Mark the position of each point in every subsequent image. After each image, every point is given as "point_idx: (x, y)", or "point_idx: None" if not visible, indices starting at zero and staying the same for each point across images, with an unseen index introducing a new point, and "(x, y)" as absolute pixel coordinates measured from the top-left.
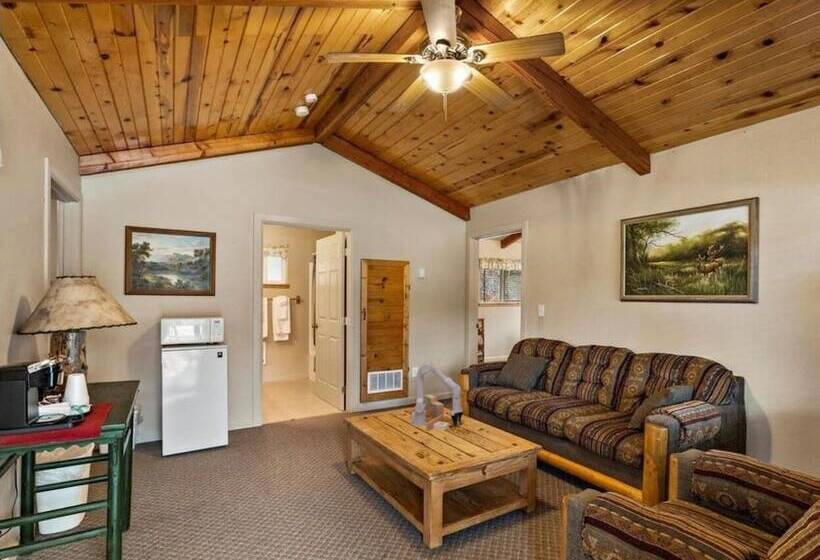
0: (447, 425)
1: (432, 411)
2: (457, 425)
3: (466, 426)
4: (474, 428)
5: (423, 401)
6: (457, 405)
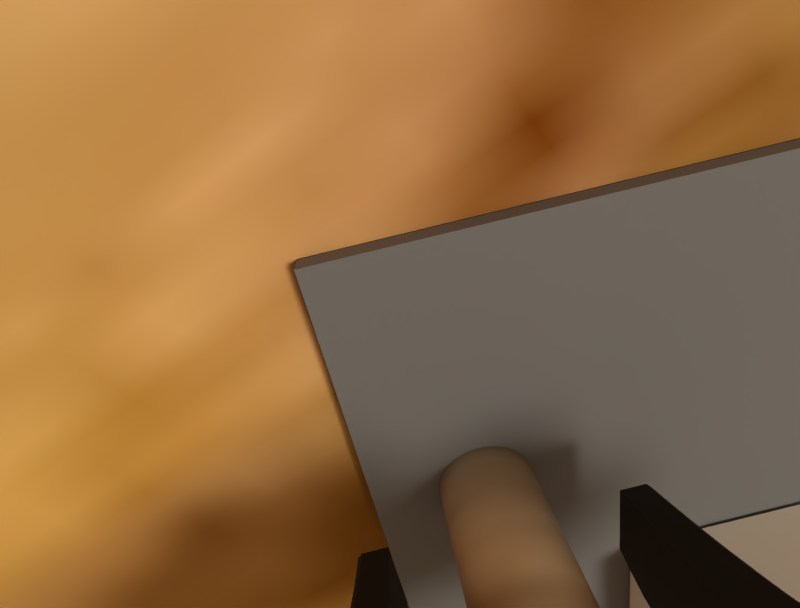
0: None
1: None
2: (531, 479)
3: (248, 355)
4: (192, 22)
5: None
6: None
